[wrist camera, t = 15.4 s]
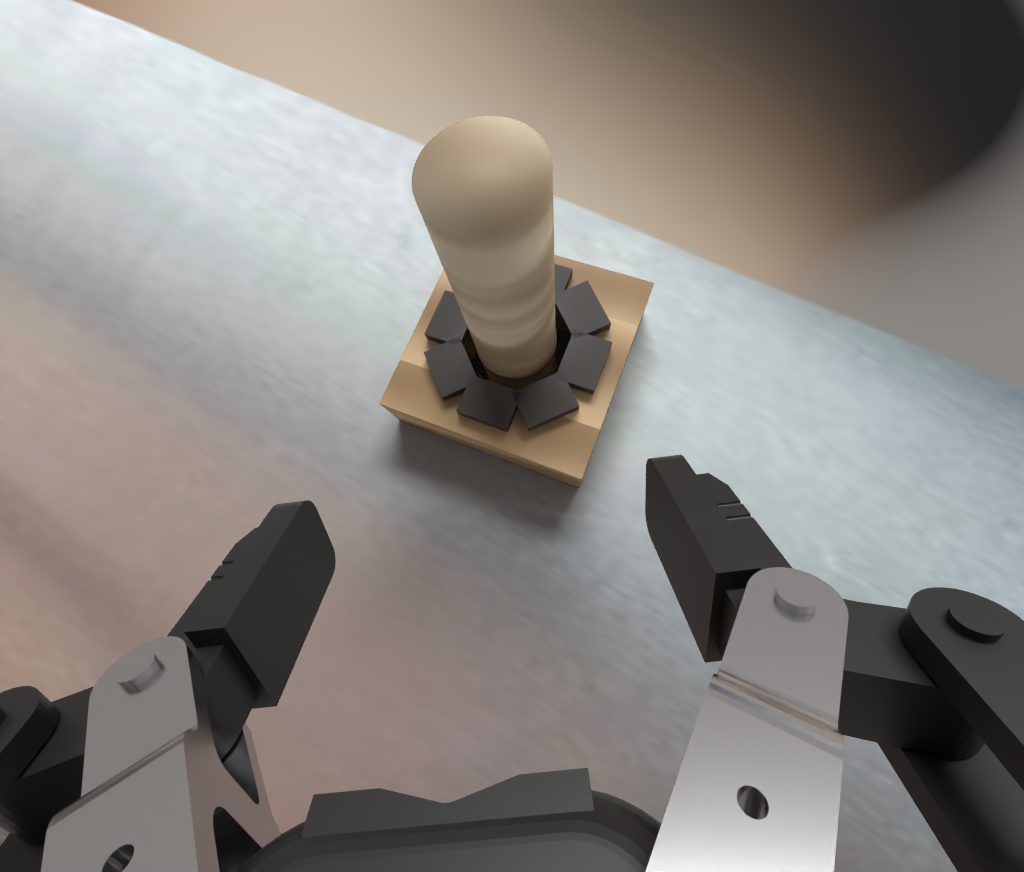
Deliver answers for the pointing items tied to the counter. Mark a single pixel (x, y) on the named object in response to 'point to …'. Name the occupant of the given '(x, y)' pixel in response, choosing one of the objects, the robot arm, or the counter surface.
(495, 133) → the dowel
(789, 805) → the robot arm
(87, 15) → the counter surface
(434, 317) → the socket
